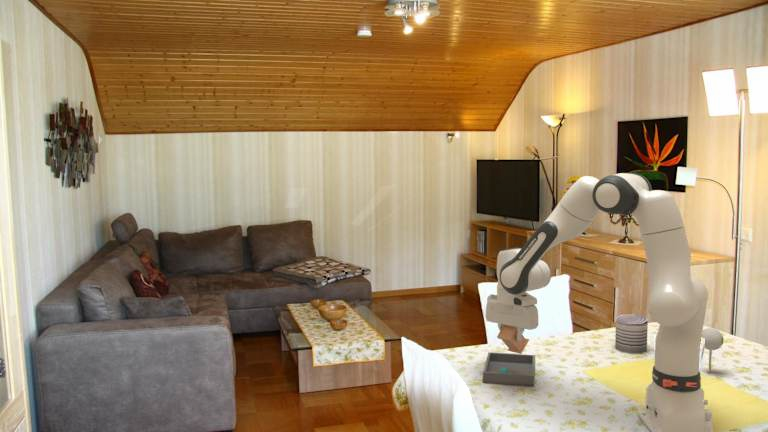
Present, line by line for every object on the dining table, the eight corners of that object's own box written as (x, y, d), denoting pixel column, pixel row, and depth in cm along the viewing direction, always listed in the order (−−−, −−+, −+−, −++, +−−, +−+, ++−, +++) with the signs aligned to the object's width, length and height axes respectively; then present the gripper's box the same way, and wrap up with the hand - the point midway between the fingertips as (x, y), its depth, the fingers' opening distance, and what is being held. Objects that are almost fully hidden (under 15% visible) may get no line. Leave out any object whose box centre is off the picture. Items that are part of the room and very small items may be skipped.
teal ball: (508, 366, 208) (510, 375, 207) (499, 367, 209) (501, 377, 209) (505, 367, 205) (507, 377, 205) (497, 368, 207) (498, 378, 206)
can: (652, 354, 228) (653, 321, 227) (620, 354, 228) (621, 322, 227) (640, 344, 240) (641, 313, 238) (610, 344, 240) (610, 313, 238)
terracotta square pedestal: (516, 337, 214) (504, 323, 211) (529, 340, 210) (517, 325, 206) (508, 350, 212) (496, 337, 209) (521, 353, 207) (509, 339, 204)
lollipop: (720, 378, 204) (722, 332, 203) (696, 374, 208) (698, 329, 206) (722, 371, 210) (724, 327, 209) (698, 367, 214) (700, 324, 212)
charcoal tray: (534, 386, 200) (534, 376, 200) (483, 382, 204) (483, 372, 203) (535, 365, 219) (535, 355, 219) (488, 361, 223) (488, 352, 223)
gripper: (481, 294, 215) (481, 335, 215) (528, 301, 198) (528, 345, 199) (494, 292, 218) (494, 332, 219) (541, 299, 202) (541, 342, 202)
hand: (511, 338), depth 209 cm, fingers closed on terracotta square pedestal, 5 cm apart
